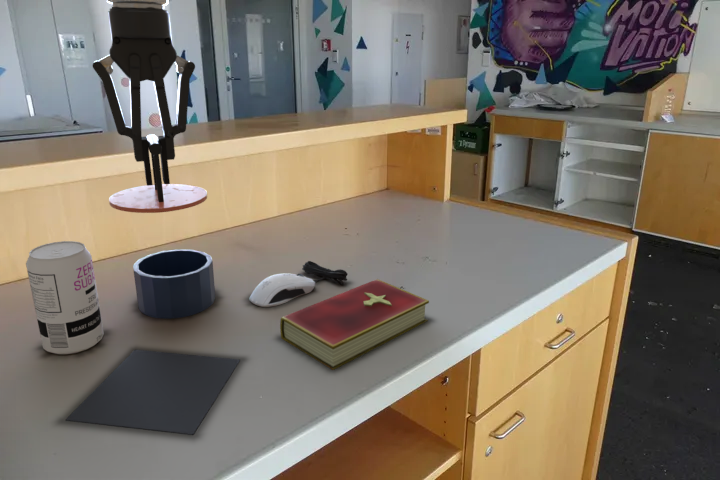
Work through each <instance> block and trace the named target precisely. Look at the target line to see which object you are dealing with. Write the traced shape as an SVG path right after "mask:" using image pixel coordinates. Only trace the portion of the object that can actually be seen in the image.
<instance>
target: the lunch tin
mask: <svg viewBox="0 0 720 480" xmlns="http://www.w3.org/2000/svg"><path fill="white" fill-rule="evenodd" d="M213 263H214V262H213V258H212V256H211V255H210V254H208V253H206V252H204V251H201V250H195V249H187V248H186V249H185V248H183V249H182V248H177V249H170V250H169V249H168V250H167V249H166V250H162V251H157V252H154V253H150V254H148V255H145V256H143V257H141V258H139V259H137V261H135V263H134V264H133V265H132V267H133V277H134V284H135V285H134V286H135V292H136V299H137V308H138V310H139V311H140V313H141V314H143V315H145V316H147V317H151V318H154V319H164V320H165V319H167V320H168V319H179V318H180V319H181V318H186V317H190V316H193V315H197V314H199V313H201V312H203V311H205V310H207V309H209V308H210V307H211V306H212V305H213V304H214V302H215V299H216V288H215V287H216V286H215V274H214V264H213Z"/></svg>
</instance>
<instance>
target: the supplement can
mask: <svg viewBox="0 0 720 480" xmlns="http://www.w3.org/2000/svg"><path fill="white" fill-rule="evenodd" d="M25 266H26V271H27V277H28V280H29V284H30V285H29V286H30V291H31V296H32V300H33V306H34V310H35V311H34V312H35V316H36V321H37V325H38V330H39V335H40V339H41V345H42V349H43V350H45V351H46V352H48V353H52V354H55V355H71V354H76V353H80V352H83V351H87V350H88V349H91V348H92V347H94V346H95V345H97V343H99V342H100V341H101V340H102V339H103V337H104V334H105V333H104V326H103V320H102V314H101V307H100V299H99V294H98V287H97V281H96V275H95V268H94V262H93V256H92V254H91V252H90V251H89V250H88V248H87V247H86V246H85V244H84V243H82V242H80V241H76V240H75V241H74V240H61V241H54V242H53V241H52V242H49V243H45V244H41V245H38V246H36V247H34V248H32V249H31V250H30V251H29V252H28V257H27V260H26V262H25Z"/></svg>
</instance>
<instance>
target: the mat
mask: <svg viewBox="0 0 720 480" xmlns="http://www.w3.org/2000/svg"><path fill="white" fill-rule="evenodd" d="M240 362H241V359H239V358H229V357H228V358H227V357H218V356H207V355H198V354H197V355H196V354H187V353H176V352H166V351H155V350H144V349H133V351H132V352H131V353H130V354H129V355H127V356H126V357H125V359H124V360H123V361H122V362H121V363H120V364H118V366H117V367H116V368H115V369H114V370H113V371H112V372H111V373H110V374H109V375H108V376H107V377H105V379H104V380H103V381H102V382H101V383H100V384H99V385H98V386H97V387H96V388H95V389H94V390H93V391H92V392H91V393H90V394H89V395H88V396H87V397H86V398H85V399H84V401H82V402H81V403H80V404H79V405H78V406H77V407H76V408H75V409H74V410H73V412H71V414H69V416H67V417H66V418H65V422H74V423H84V424H92V425H100V426H101V425H102V426H109V427H117V428H126V429H133V430H135V429H136V430H143V431H153V432H159V433H160V432H161V433H169V434H179V435H187V436H194V435H195V434H196V432H197V430H198V429H199V427H200V425H202V423H203V421H204V419H205V418H206V416H207V415H208V413H209V411H210V410H211V408H212V407H213V405H214V403H215V402H216V400H217V398H218V397H219V396H220V393H221V392H222V390H223V389H224V388H225V386H226V384H227V383H228V381H229V380H230V378H231V376H232V374H233V373H234V372H235V370H236V369H237V367H238V365H239V363H240Z"/></svg>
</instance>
